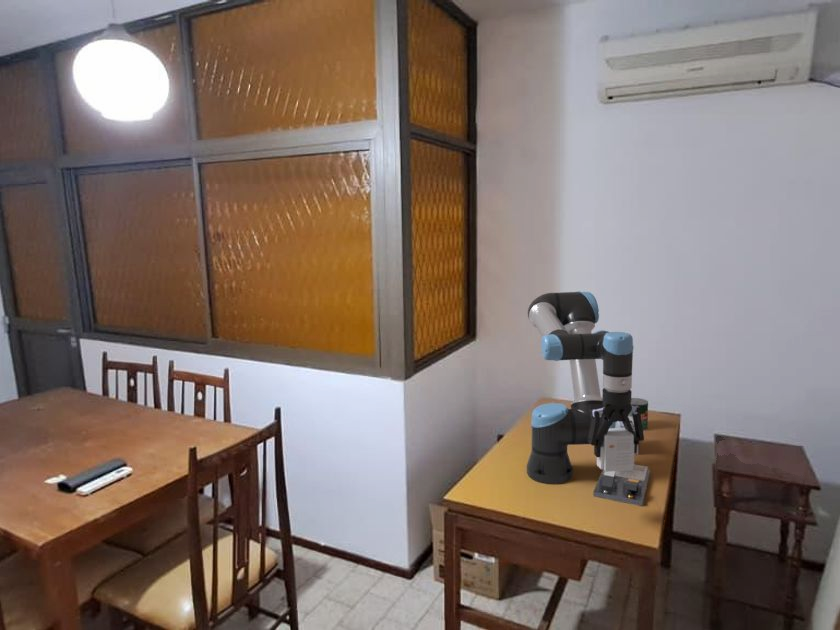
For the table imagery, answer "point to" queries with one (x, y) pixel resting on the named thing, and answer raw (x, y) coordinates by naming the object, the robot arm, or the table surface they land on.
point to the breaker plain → (608, 480)
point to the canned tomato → (644, 406)
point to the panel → (620, 489)
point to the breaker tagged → (632, 484)
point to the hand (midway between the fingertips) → (615, 465)
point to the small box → (618, 450)
